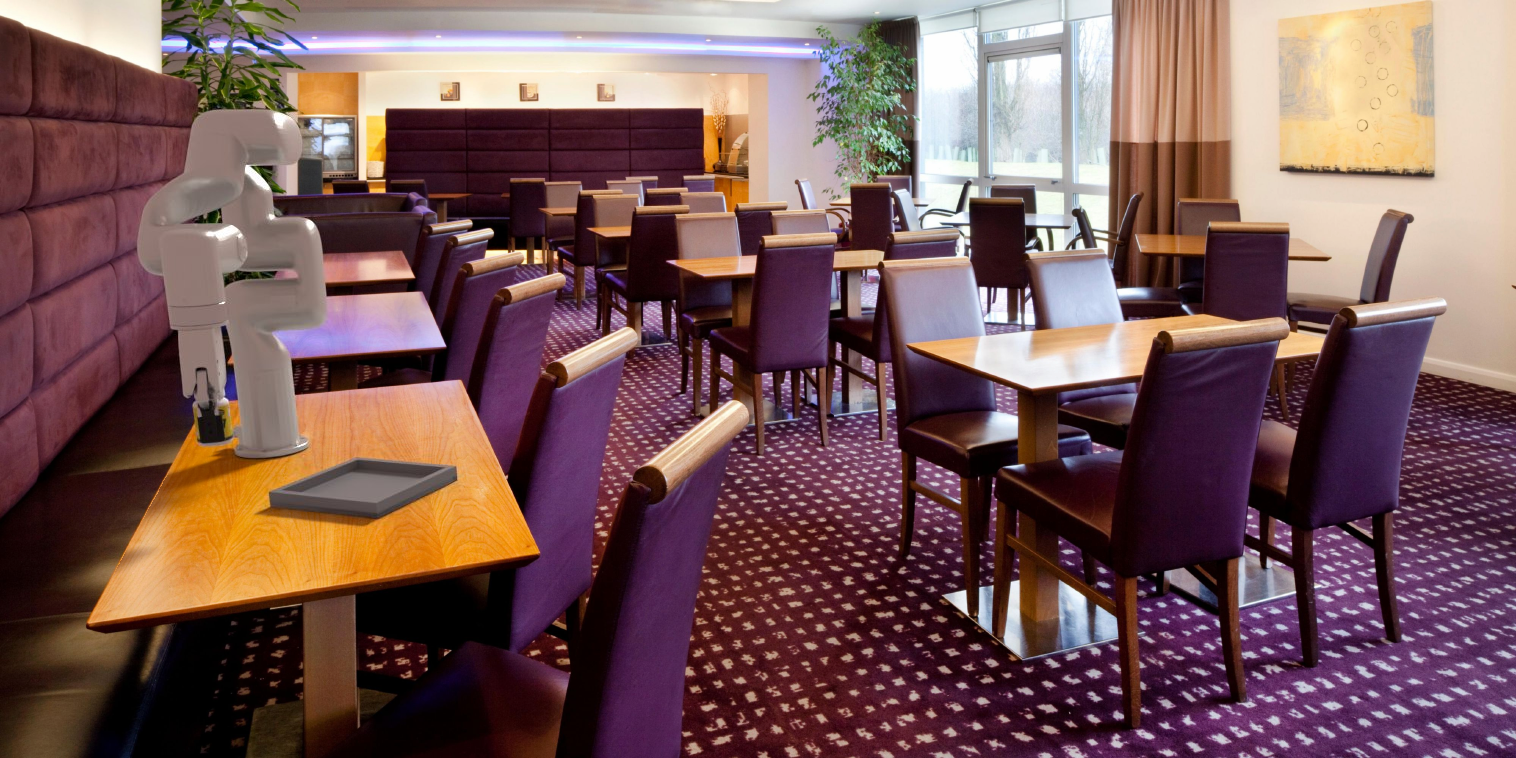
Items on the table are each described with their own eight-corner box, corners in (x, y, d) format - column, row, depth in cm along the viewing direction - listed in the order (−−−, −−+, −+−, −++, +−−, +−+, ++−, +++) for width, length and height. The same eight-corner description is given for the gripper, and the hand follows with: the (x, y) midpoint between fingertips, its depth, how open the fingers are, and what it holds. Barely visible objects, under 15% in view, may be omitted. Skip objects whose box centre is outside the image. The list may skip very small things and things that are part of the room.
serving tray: (270, 506, 163) (268, 491, 162) (358, 470, 181) (356, 457, 181) (377, 518, 156) (376, 502, 156) (457, 479, 175) (456, 465, 174)
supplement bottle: (197, 449, 153) (190, 392, 151) (197, 441, 157) (189, 386, 155) (234, 444, 155) (227, 388, 153) (233, 436, 159) (226, 382, 158)
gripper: (177, 308, 158) (194, 425, 163) (160, 327, 143) (178, 456, 147) (233, 305, 161) (247, 420, 165) (221, 323, 146) (238, 449, 150)
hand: (215, 435), depth 156 cm, fingers closed on supplement bottle, 4 cm apart
